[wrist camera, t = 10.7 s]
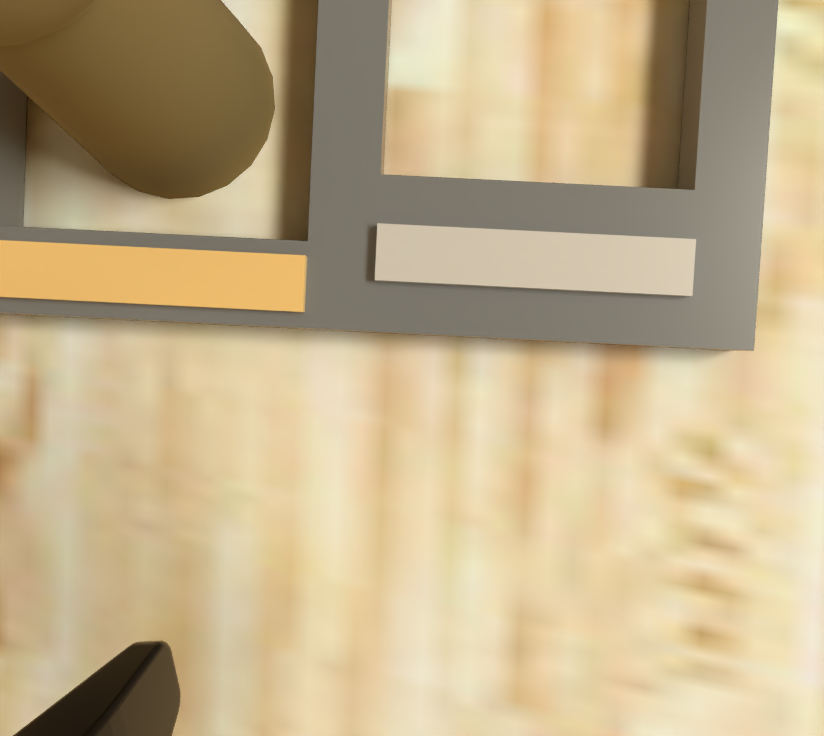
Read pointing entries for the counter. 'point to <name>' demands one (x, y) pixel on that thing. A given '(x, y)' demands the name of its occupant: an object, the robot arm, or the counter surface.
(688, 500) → the counter surface
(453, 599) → the counter surface
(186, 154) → the cork
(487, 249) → the panel
